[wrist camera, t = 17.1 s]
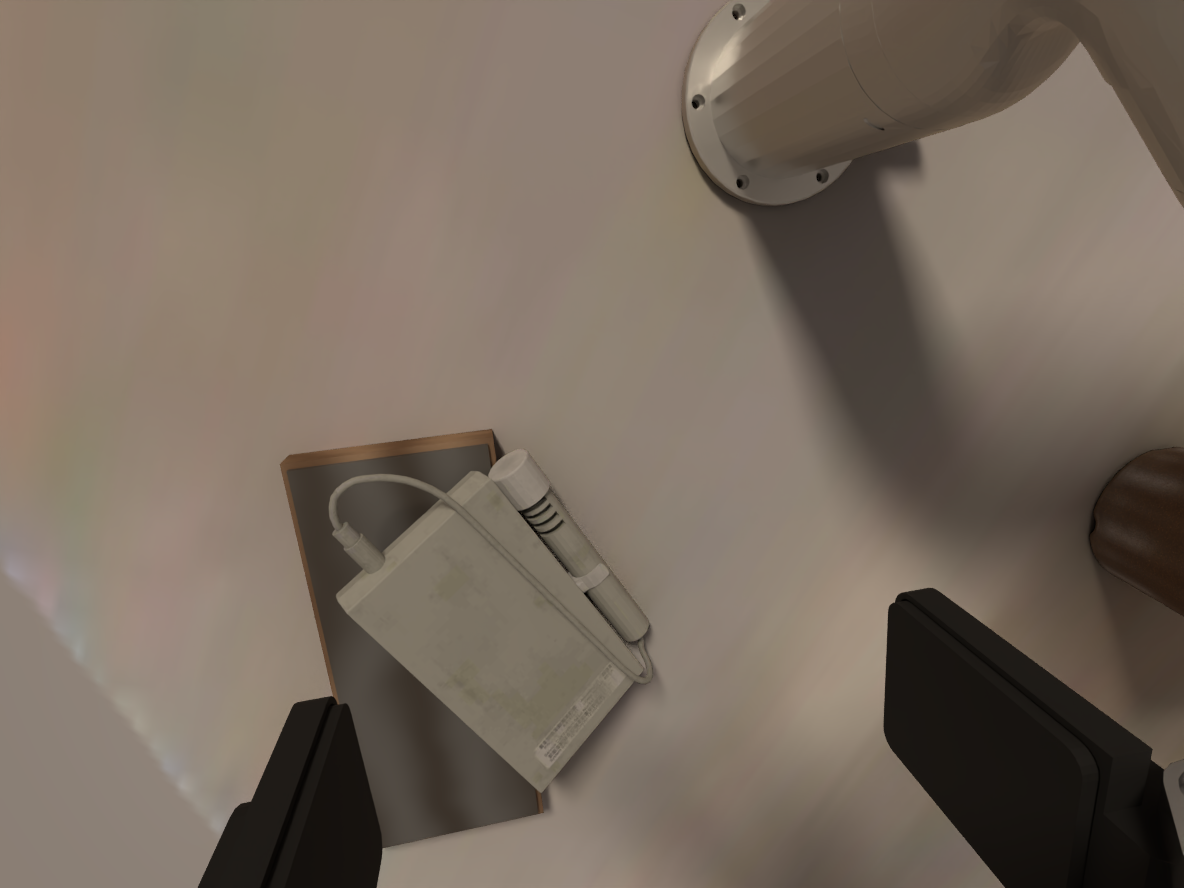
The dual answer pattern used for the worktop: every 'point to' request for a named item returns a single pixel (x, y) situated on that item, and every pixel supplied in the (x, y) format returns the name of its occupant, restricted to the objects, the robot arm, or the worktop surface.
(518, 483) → the geiger counter
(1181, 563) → the plant pot
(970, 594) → the worktop surface
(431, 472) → the brown wooden board
